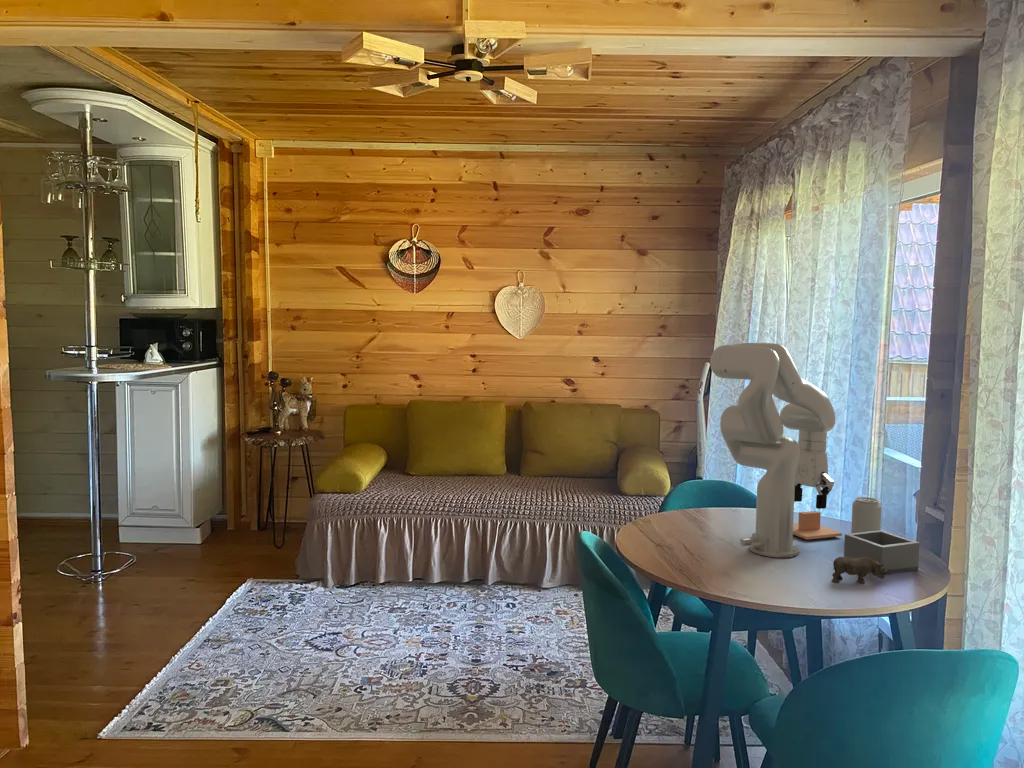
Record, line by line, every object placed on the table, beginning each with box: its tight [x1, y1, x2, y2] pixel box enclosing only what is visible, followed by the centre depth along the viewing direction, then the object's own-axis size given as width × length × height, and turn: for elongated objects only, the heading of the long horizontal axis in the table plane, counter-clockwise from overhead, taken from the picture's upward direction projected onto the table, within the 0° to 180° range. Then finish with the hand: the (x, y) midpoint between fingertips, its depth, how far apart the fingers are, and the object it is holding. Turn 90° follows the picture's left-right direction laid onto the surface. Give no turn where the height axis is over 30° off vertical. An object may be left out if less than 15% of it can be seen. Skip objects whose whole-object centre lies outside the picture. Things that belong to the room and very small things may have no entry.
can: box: [850, 496, 882, 534], centre depth 207 cm, size 8×8×12 cm
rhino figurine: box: [831, 556, 890, 585], centre depth 174 cm, size 4×14×6 cm, turn 86°
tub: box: [843, 529, 920, 576], centre depth 185 cm, size 12×12×7 cm
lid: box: [793, 510, 843, 541], centre depth 213 cm, size 12×12×7 cm
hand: (808, 504), depth 212 cm, fingers open, 9 cm apart
